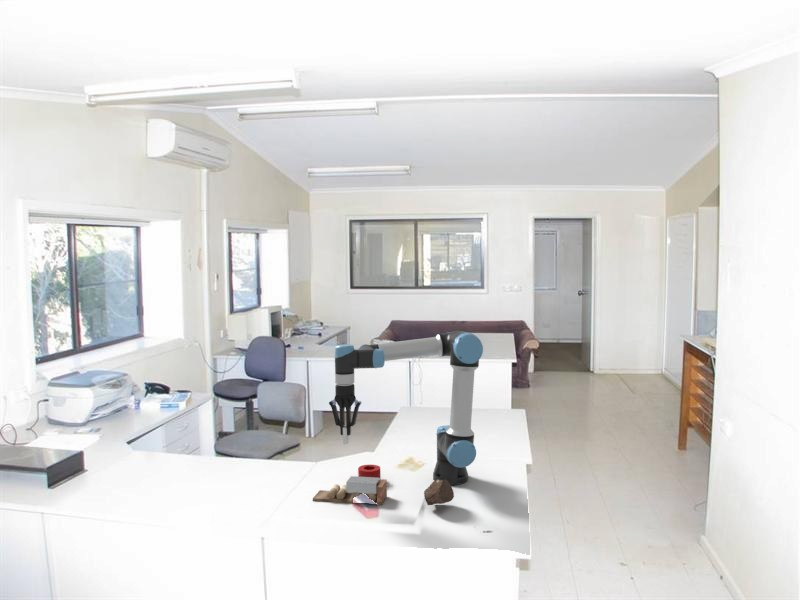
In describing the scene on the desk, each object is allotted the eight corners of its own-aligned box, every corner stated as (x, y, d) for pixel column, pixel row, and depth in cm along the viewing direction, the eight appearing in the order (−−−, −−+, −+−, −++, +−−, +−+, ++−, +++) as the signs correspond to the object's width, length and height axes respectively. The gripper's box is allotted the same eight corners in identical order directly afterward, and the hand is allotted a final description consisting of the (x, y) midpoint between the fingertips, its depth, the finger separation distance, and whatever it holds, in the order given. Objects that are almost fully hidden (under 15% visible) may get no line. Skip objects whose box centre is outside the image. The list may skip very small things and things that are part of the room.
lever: (383, 485, 259) (383, 470, 259) (361, 488, 256) (361, 472, 256) (371, 472, 276) (371, 457, 276) (351, 474, 274) (351, 460, 273)
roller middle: (348, 484, 248) (349, 491, 248) (341, 485, 249) (342, 492, 249) (342, 491, 240) (344, 499, 240) (335, 492, 241) (337, 500, 241)
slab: (380, 487, 245) (380, 477, 245) (376, 493, 238) (376, 483, 238) (351, 485, 248) (351, 476, 247) (346, 492, 241) (346, 482, 241)
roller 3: (379, 486, 246) (381, 493, 246) (372, 488, 246) (374, 494, 246) (374, 493, 238) (376, 500, 238) (367, 495, 239) (369, 502, 239)
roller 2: (365, 491, 247) (358, 494, 248) (361, 484, 247) (355, 487, 248) (360, 498, 239) (353, 501, 240) (356, 491, 239) (350, 494, 240)
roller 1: (339, 484, 249) (340, 491, 249) (332, 484, 250) (333, 492, 250) (333, 491, 241) (335, 498, 241) (326, 491, 242) (327, 499, 242)
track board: (386, 496, 246) (386, 479, 246) (382, 505, 237) (381, 487, 237) (319, 492, 251) (319, 475, 251) (312, 500, 242) (312, 483, 242)
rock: (440, 513, 229) (440, 486, 229) (416, 507, 235) (416, 481, 234) (455, 502, 240) (455, 476, 239) (432, 497, 245) (432, 472, 245)
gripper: (363, 382, 245) (364, 441, 246) (331, 381, 247) (332, 439, 248) (358, 386, 237) (359, 446, 239) (326, 385, 240) (327, 445, 241)
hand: (345, 443), depth 243 cm, fingers closed
